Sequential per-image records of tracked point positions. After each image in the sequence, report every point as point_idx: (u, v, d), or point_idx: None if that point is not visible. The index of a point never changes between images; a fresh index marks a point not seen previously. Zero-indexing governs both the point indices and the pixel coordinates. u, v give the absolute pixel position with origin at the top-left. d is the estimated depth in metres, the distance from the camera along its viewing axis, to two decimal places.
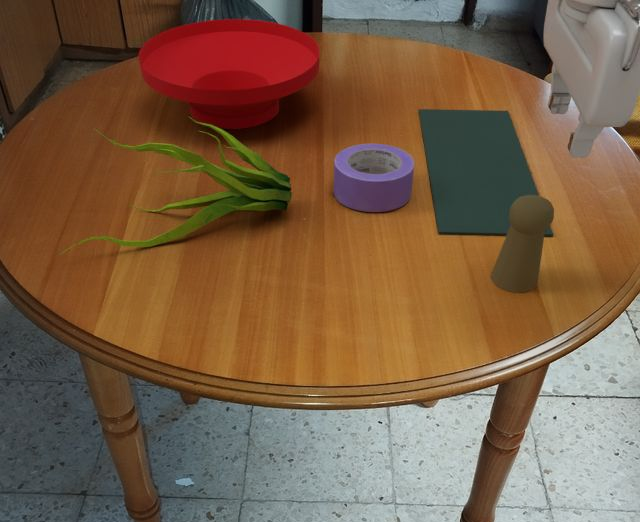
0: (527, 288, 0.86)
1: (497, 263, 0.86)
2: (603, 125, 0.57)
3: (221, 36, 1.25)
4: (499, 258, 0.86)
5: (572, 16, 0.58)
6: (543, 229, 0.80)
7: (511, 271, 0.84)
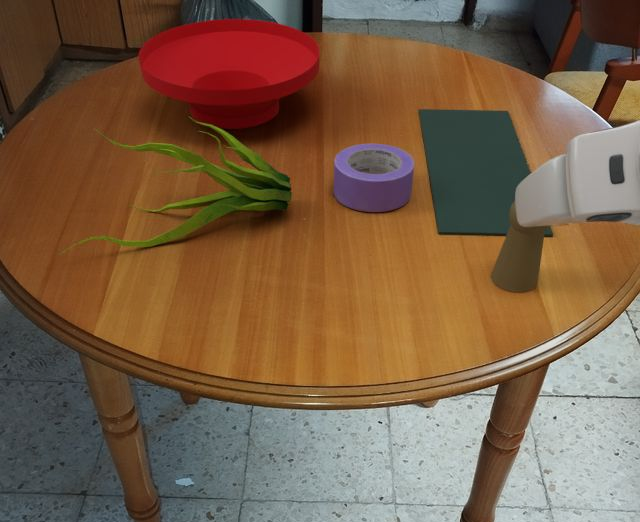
0: (527, 288, 0.86)
1: (497, 263, 0.86)
2: None
3: (221, 36, 1.25)
4: (499, 258, 0.86)
5: None
6: (543, 229, 0.80)
7: (511, 271, 0.84)
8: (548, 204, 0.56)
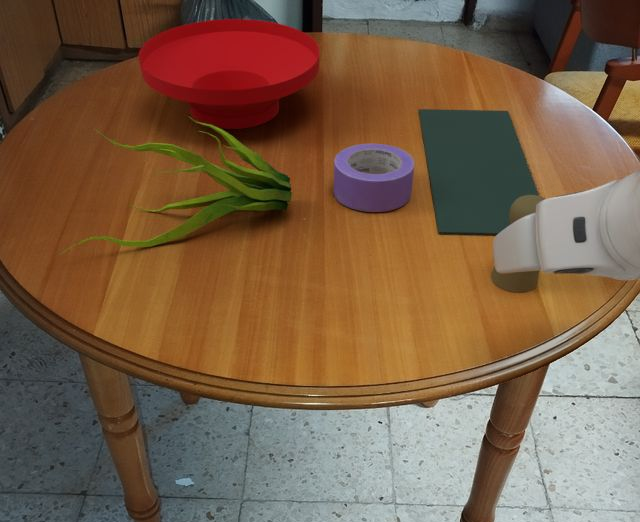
0: (527, 288, 0.86)
1: None
2: None
3: (221, 36, 1.25)
4: None
5: None
6: None
7: None
8: (520, 257, 0.63)
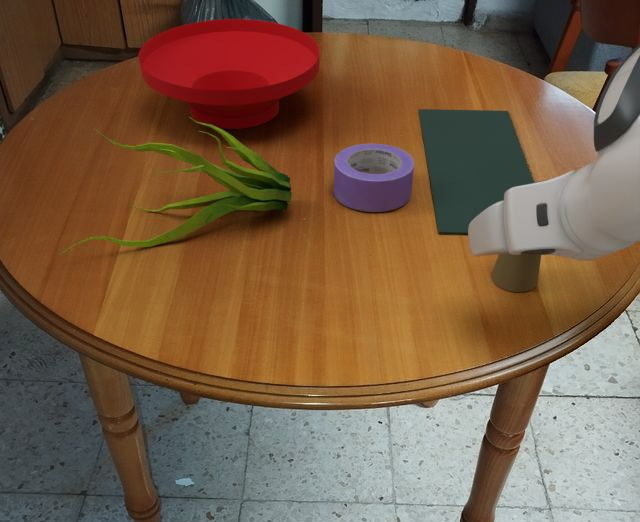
0: (527, 288, 0.86)
1: (497, 263, 0.86)
2: None
3: (221, 36, 1.25)
4: (499, 258, 0.86)
5: None
6: None
7: (511, 270, 0.84)
8: (491, 240, 0.70)
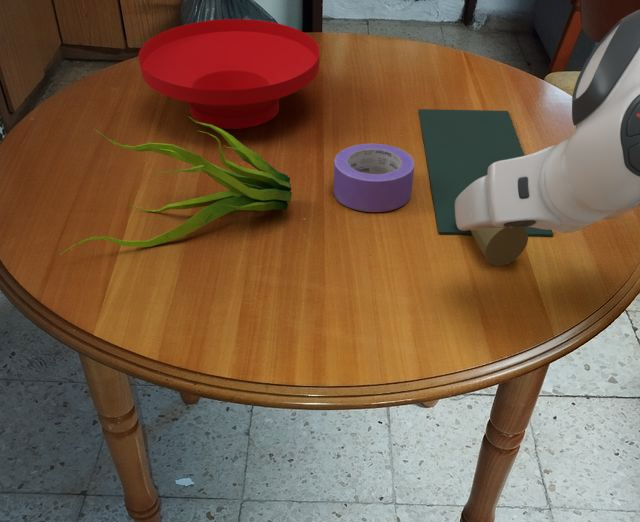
0: None
1: (479, 245, 0.89)
2: None
3: (221, 36, 1.25)
4: (477, 242, 0.90)
5: None
6: None
7: None
8: (476, 214, 0.73)
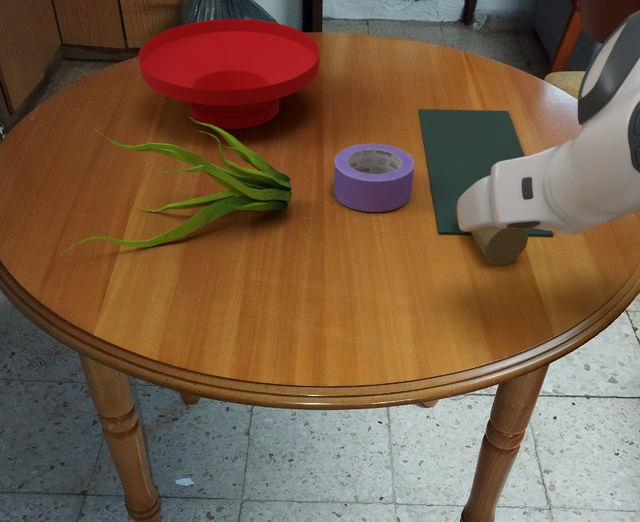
0: None
1: (479, 245, 0.89)
2: None
3: (221, 36, 1.25)
4: (477, 242, 0.90)
5: None
6: None
7: None
8: (478, 214, 0.72)
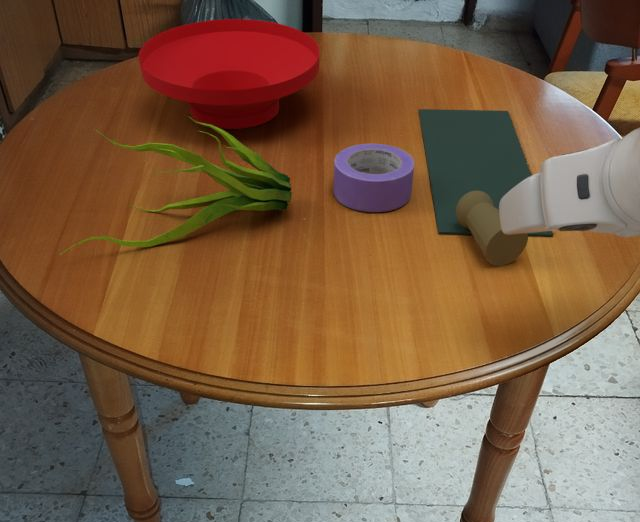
0: None
1: (479, 245, 0.89)
2: None
3: (221, 36, 1.25)
4: (477, 242, 0.90)
5: None
6: (481, 195, 0.91)
7: (484, 227, 0.88)
8: (526, 216, 0.65)
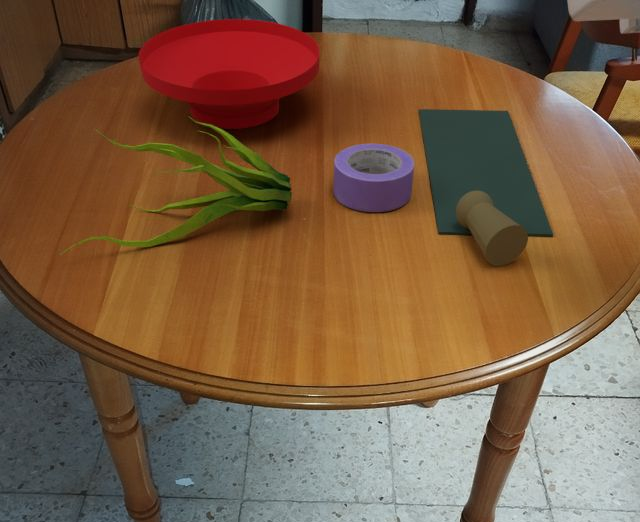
0: (509, 224, 0.86)
1: (479, 245, 0.89)
2: None
3: (221, 36, 1.25)
4: (477, 242, 0.90)
5: None
6: (481, 195, 0.91)
7: (484, 227, 0.88)
8: None
